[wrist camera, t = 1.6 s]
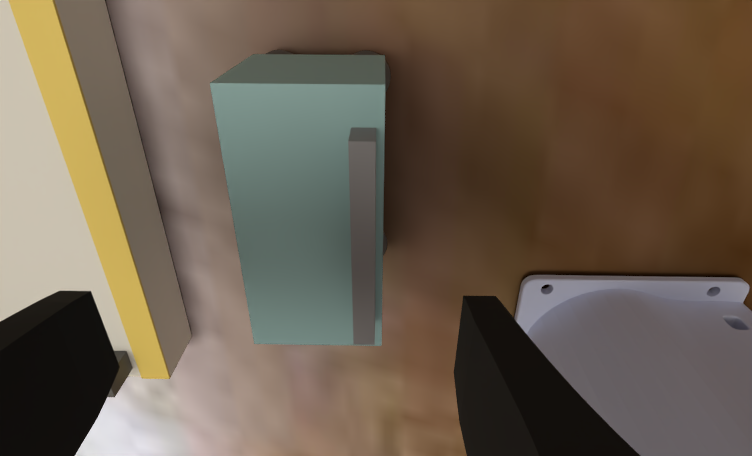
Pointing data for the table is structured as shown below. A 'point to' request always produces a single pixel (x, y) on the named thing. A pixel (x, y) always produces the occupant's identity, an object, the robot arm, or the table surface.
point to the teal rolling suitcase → (307, 192)
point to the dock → (81, 185)
